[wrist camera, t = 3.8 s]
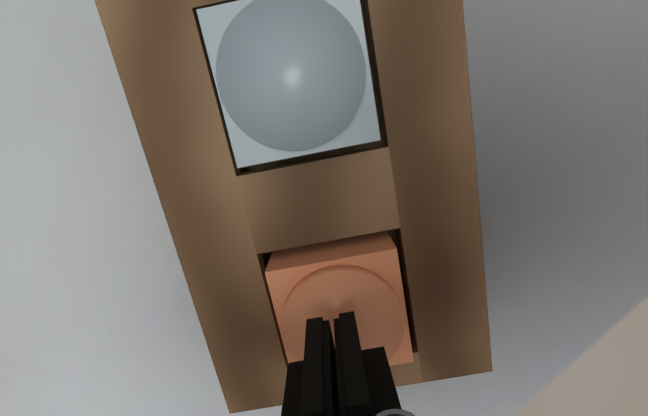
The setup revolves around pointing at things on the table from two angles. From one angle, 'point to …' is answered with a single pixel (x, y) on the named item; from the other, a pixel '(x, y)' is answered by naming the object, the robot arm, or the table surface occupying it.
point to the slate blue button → (290, 76)
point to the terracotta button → (342, 292)
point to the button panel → (315, 188)
